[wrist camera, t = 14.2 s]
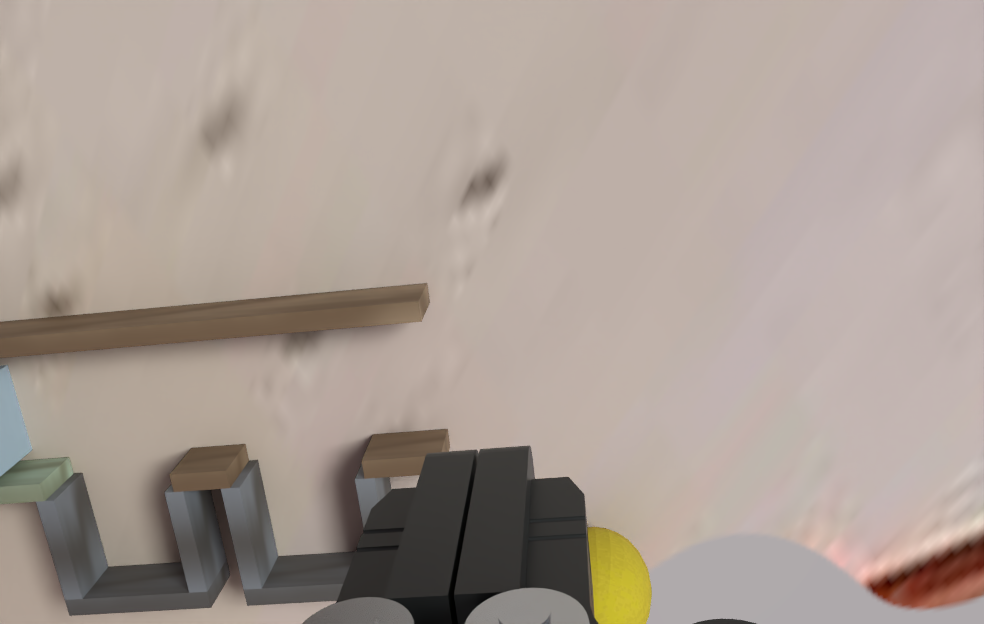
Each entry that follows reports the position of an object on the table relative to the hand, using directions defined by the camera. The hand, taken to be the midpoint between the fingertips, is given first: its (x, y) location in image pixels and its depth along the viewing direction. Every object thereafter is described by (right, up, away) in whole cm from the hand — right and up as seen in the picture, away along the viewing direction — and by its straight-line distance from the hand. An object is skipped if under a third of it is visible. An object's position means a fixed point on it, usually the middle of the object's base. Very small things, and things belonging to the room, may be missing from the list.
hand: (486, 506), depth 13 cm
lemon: (+6, -10, +37) cm, 38 cm away
